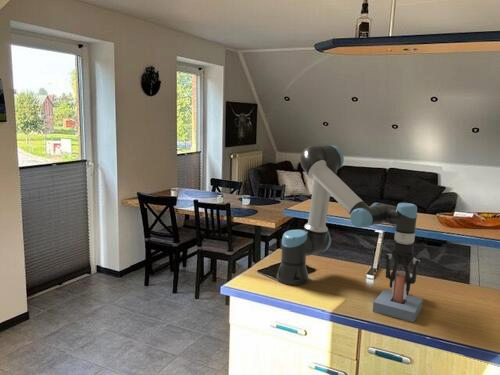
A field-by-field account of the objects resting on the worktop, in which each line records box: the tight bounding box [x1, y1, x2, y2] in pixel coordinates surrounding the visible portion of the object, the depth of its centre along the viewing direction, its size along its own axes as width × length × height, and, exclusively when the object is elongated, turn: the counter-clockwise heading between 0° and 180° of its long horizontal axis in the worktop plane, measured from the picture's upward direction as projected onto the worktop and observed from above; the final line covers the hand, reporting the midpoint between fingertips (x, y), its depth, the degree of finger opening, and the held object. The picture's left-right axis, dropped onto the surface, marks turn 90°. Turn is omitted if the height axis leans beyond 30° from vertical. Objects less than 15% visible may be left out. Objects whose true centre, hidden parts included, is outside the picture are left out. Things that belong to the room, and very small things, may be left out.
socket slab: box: [372, 288, 424, 323], centre depth 173 cm, size 16×16×4 cm
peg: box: [393, 274, 406, 304], centre depth 172 cm, size 4×4×14 cm
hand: (398, 296), depth 172 cm, fingers closed on peg, 4 cm apart
